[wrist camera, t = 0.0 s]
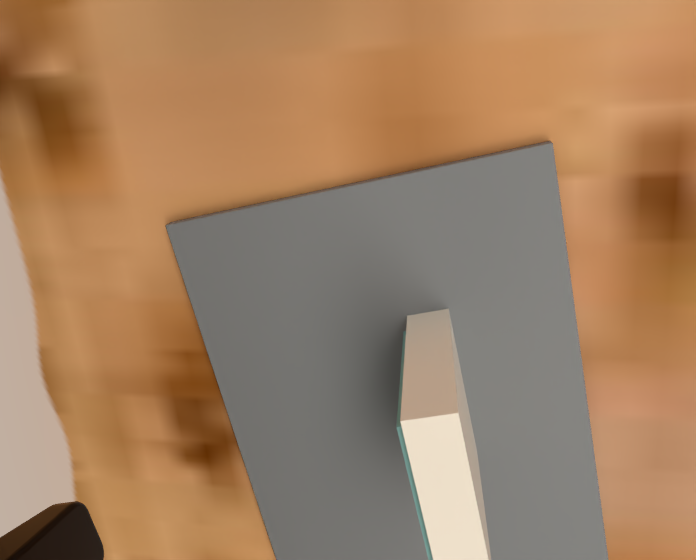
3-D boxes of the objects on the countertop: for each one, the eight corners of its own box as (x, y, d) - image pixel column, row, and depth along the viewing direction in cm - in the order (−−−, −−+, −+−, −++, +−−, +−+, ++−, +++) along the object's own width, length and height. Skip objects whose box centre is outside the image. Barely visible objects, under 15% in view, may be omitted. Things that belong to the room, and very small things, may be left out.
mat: (608, 573, 26) (611, 583, 26) (295, 603, 29) (293, 612, 28) (549, 141, 21) (552, 142, 21) (170, 222, 23) (165, 225, 23)
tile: (477, 451, 25) (496, 596, 18) (433, 456, 25) (435, 601, 18) (448, 308, 23) (458, 412, 16) (401, 316, 23) (392, 422, 17)
